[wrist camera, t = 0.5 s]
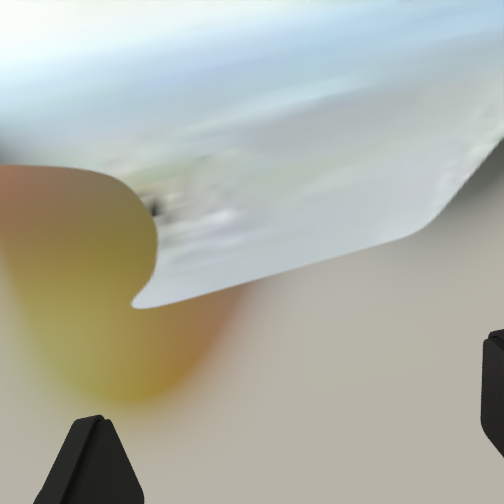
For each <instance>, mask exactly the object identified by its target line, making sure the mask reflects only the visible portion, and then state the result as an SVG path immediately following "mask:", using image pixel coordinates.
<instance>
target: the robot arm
mask: <svg viewBox="0 0 504 504" xmlns="http://www.w3.org/2000/svg"><path fill="white" fill-rule="evenodd" d="M481 425H482V428H483V431H484V432H485V434H486V436H487V437H488V438H489V440H490V441H491V442H492V443H493V445H494V446H495V447H496V448H497V450H498V451H499V452H500V453H501V455H502V456H503V457H504V329H502V330H497V331H493V332H490V334H489V336H488V339H486V340H484V342H483V363H482V392H481ZM33 504H144V495H143V491H142V488H141V486H140V484H139V482H138V479H137V477H136V475H135V473H134V470H133V469H132V466H131V464H130V462H129V459H128V457H127V455H126V453H125V450H124V448H123V446H122V444H121V441H120V439H119V437H118V435H117V433H116V431H115V428H114V426H113V424H112V422H111V420H109V419H107V420H105V419H104V417H103V416H102V415H95V416H91V417H86V418H81V419H77V420H76V421H74V423H73V424H72V426H71V428H70V430H69V433H68V435H67V437H66V439H65V441H64V443H63V445H62V447H61V450H60V452H59V454H58V456H57V458H56V460H55V462H54V464H53V467H52V468H51V471H50V473H49V475H48V477H47V479H46V481H45V483H44V485H43V487H42V490H41V491H40V492H39V494H38V495H37V497H36V499H35V501H34V503H33Z"/></svg>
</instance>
